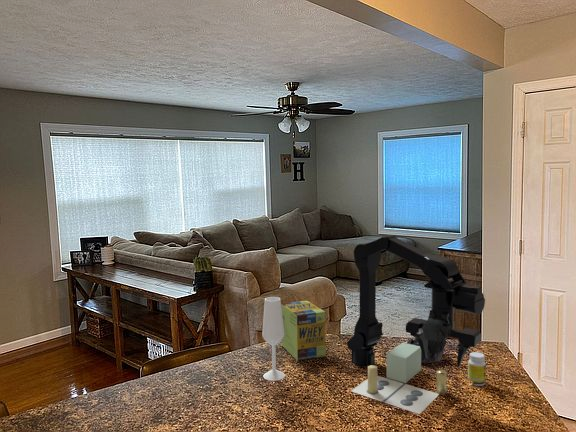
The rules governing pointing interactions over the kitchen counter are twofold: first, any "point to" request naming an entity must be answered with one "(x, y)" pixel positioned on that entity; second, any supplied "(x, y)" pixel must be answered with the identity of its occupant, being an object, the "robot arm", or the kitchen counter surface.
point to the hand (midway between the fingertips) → (441, 361)
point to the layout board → (394, 392)
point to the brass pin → (441, 381)
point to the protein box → (303, 330)
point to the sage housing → (403, 362)
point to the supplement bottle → (477, 369)
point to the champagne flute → (273, 332)
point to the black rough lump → (431, 350)
